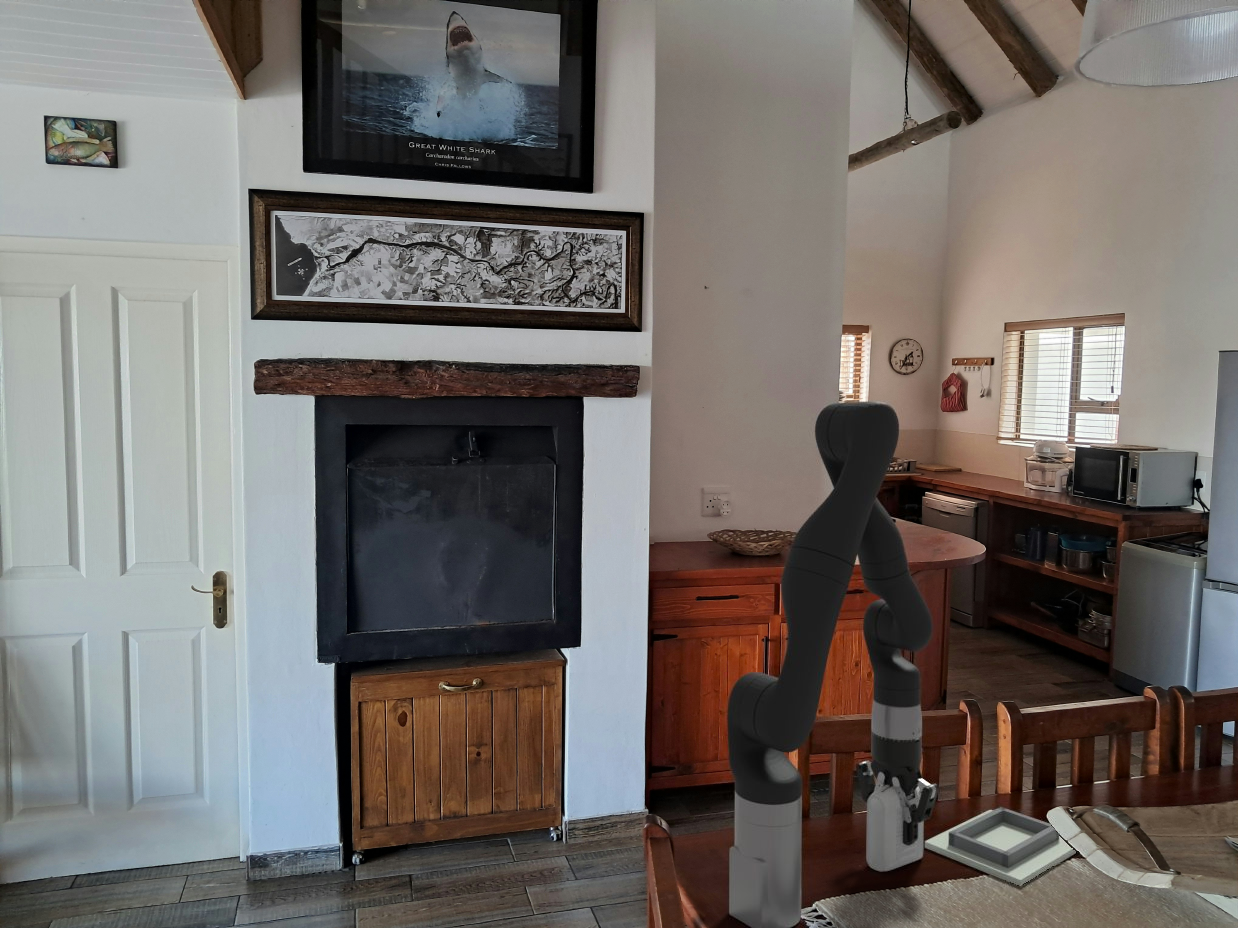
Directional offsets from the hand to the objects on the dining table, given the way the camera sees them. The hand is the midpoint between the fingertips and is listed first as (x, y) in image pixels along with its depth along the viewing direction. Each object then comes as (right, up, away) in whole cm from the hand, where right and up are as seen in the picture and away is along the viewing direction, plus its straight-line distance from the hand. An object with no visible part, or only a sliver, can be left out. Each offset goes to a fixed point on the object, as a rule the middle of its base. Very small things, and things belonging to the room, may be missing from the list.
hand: (895, 837), depth 139 cm
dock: (+19, -4, +5) cm, 20 cm away
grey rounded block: (0, -4, 0) cm, 4 cm away
